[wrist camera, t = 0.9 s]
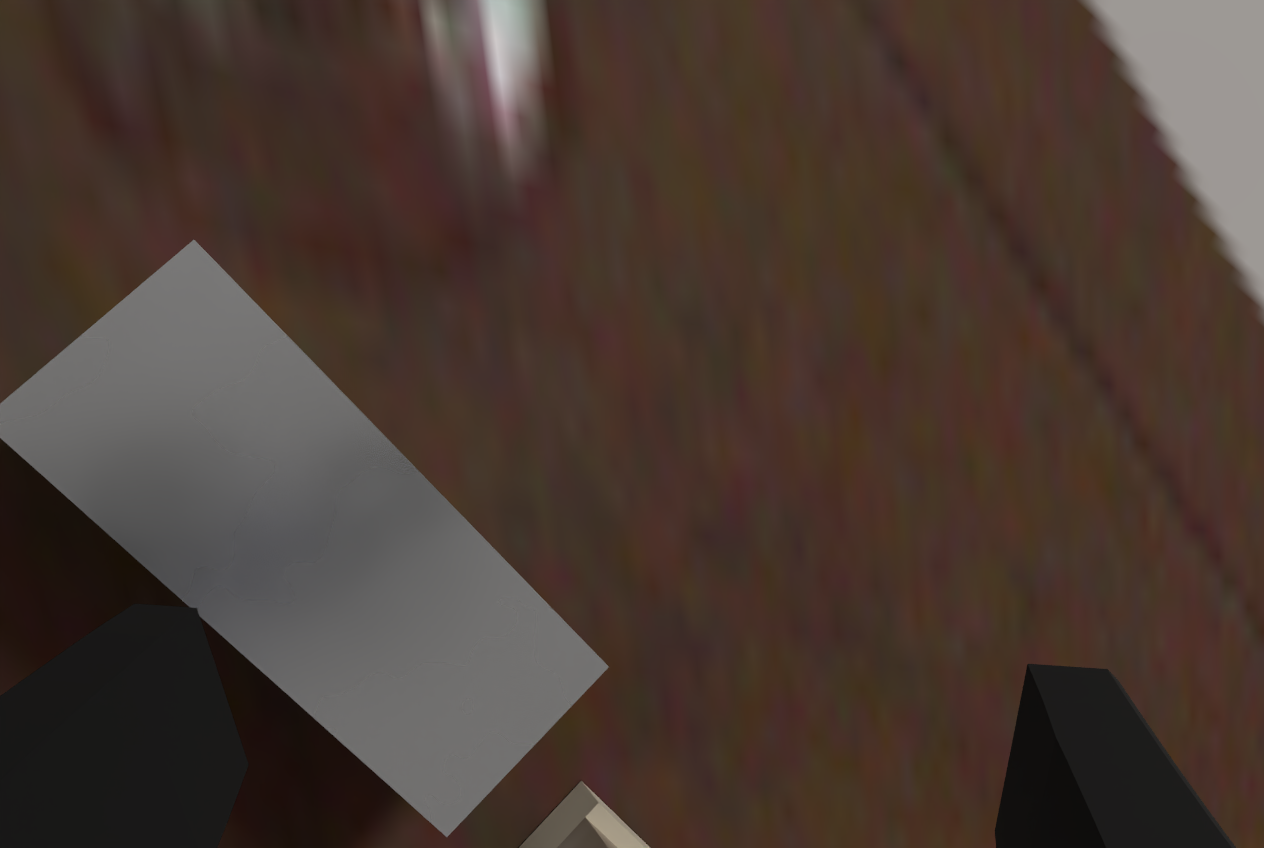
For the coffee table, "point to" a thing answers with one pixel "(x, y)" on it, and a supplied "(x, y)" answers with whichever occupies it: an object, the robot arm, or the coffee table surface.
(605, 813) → the cradle
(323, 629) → the grey rectangular block
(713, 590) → the coffee table surface
